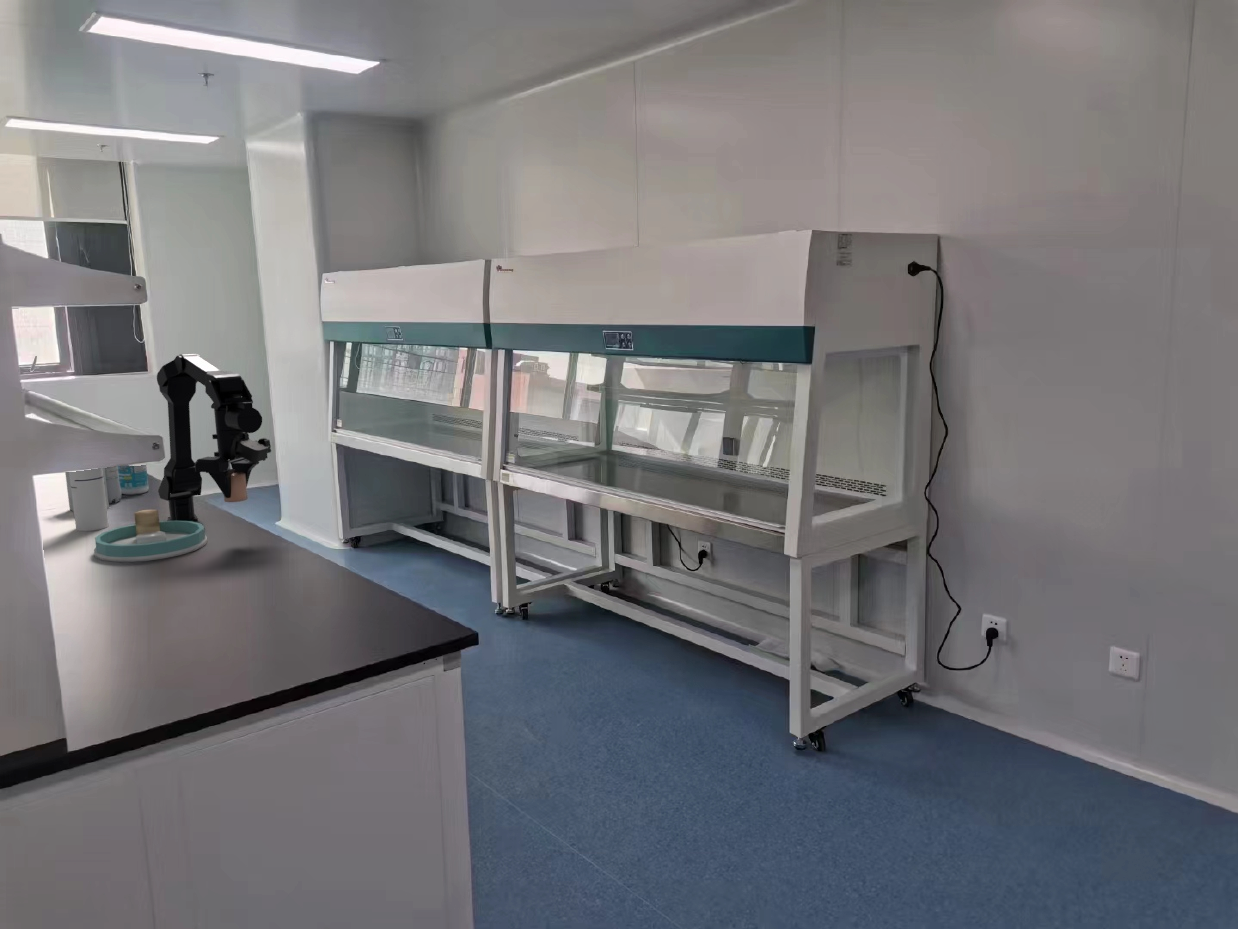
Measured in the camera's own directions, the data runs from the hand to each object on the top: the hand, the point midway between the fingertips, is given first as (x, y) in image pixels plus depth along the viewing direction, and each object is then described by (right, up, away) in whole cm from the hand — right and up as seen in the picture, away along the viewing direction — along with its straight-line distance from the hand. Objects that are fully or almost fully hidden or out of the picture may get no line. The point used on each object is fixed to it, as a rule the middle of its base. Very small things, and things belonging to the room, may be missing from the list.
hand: (235, 495), depth 210 cm
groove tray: (-18, -12, -3) cm, 22 cm away
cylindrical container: (-42, -9, +16) cm, 46 cm away
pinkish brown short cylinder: (0, -1, 0) cm, 1 cm away
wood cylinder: (-21, -10, +2) cm, 24 cm away
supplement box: (-54, -5, +35) cm, 65 cm away
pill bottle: (-53, -1, +55) cm, 77 cm away
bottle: (-54, -4, +43) cm, 69 cm away
